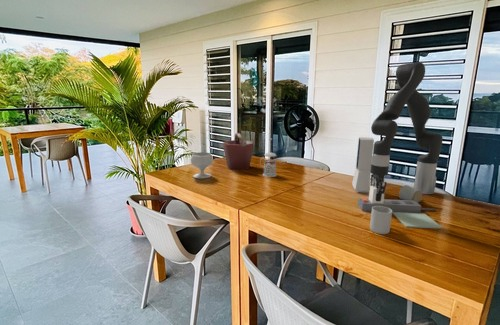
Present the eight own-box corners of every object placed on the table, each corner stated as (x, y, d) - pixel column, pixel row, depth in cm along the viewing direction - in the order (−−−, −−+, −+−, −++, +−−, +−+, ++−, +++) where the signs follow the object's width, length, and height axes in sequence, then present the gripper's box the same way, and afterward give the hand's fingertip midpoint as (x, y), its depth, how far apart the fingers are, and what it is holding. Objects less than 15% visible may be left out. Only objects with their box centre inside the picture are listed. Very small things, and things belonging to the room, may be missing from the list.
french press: (277, 177, 186) (278, 139, 180) (259, 176, 186) (260, 139, 180) (276, 173, 195) (277, 137, 189) (259, 172, 195) (260, 136, 190)
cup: (366, 230, 112) (369, 209, 110) (375, 222, 120) (377, 202, 118) (386, 236, 108) (388, 214, 106) (393, 227, 115) (396, 207, 113)
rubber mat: (424, 214, 128) (424, 213, 128) (441, 228, 115) (442, 227, 114) (392, 213, 129) (392, 212, 129) (405, 227, 116) (406, 225, 116)
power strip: (430, 208, 136) (432, 199, 135) (438, 213, 129) (440, 205, 128) (357, 205, 139) (358, 196, 138) (361, 210, 132) (362, 202, 131)
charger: (378, 203, 136) (381, 185, 134) (382, 207, 132) (384, 189, 130) (368, 202, 137) (370, 185, 135) (371, 206, 132) (373, 188, 130)
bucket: (253, 171, 199) (253, 136, 193) (221, 171, 199) (221, 135, 193) (253, 163, 223) (253, 131, 217) (225, 163, 223) (224, 131, 217)
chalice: (217, 176, 186) (217, 153, 183) (201, 180, 176) (200, 157, 172) (203, 172, 195) (202, 151, 192) (187, 176, 185) (186, 154, 181)
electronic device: (369, 193, 155) (375, 139, 148) (354, 192, 157) (360, 138, 150) (365, 186, 167) (370, 136, 160) (351, 185, 168) (356, 135, 162)
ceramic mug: (412, 205, 139) (415, 190, 137) (397, 200, 146) (399, 185, 144) (425, 202, 144) (428, 187, 142) (410, 197, 151) (412, 183, 149)
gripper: (395, 167, 122) (390, 204, 126) (382, 160, 136) (378, 194, 140) (377, 167, 123) (372, 204, 127) (366, 160, 137) (363, 193, 141)
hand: (376, 198), depth 134 cm, fingers closed on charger, 5 cm apart
